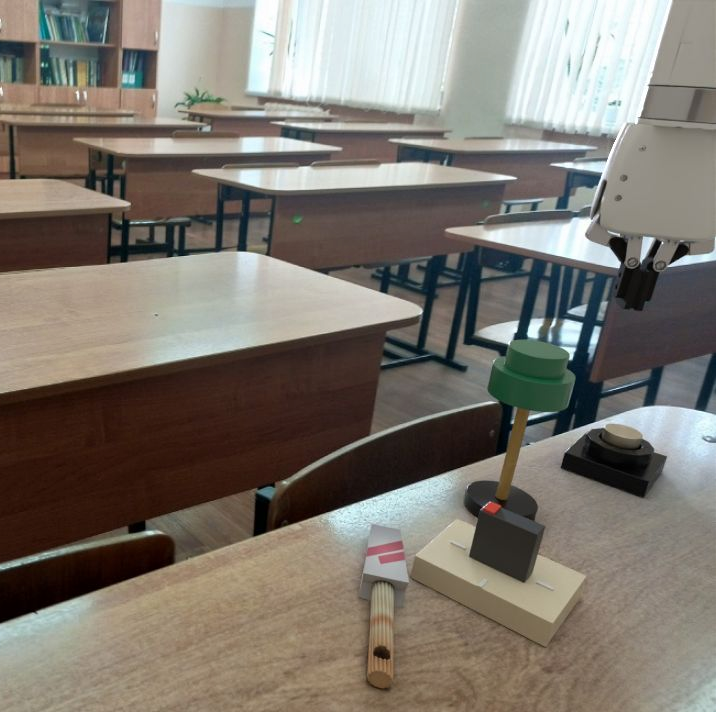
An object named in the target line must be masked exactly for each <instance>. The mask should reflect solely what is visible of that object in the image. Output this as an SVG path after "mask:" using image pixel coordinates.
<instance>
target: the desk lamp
mask: <svg viewBox="0 0 716 712" xmlns="http://www.w3.org/2000/svg"><path fill="white" fill-rule="evenodd" d="M570 356H571V355H570V352H569V351H568V350H566V349H565V348H562V347H560V346H558V345H556V344H552V343H549V342H544V341H541V340H534V339H515V340H514V339H513V340H511V341H509V342H508V344H507V348H506V352H505V355H503V356H500V357H496V358H494V360H493V362H492V366H491V370H490V375H489V379H488V384H487V387H486V388H487V393H488V394H489V395H490V396H492V397H493V398H494V399H496V400H497V401H499V402H502V403H503V404H506V405H508V406H511V407H515V408H516V412H515V416H514V419H513V424H512V427H511V432H510V436H509V440H508V443H507V444H508V445H507V448H506V451H505V457H504V459H503V460H504V461H503V465H502V468H501V472H500V477H499V480H498V481H496V480H487V479H486V480H484V479H483V480H476V481H473V482H470V483H469V484H468V485H467V486H466V488H465V493H464V497H463V504H464V506H465V508H466V510H467V511H468V512H469V513H470V514H472V515H473V516H475V518H478V516H479V512H480V510H481V509H482V508H483V507H484V506H485V505H486V504H488V503H489V502H493V503H496V504H498V505H501V508H503V509H506V510H508V511H510V512H513V513H515V514H518V515H520V516H522V517H525V518H527V519H530V520H532V521H534V522H535V520H536V516H537V513H538V509H539V505H538V503H537V501H536V499H535V498H534V497H533V496H532V495H531V494H529V493H528V492H527V491H525V490H524V489H522V488H519V487H517V486H515V485H512V483H513V479H514V475H515V471H516V467H517V463H518V460H519V455H520V452H521V449H522V443H523V440H524V436H525V432H526V428H527V425H528V420H529V417H530V412H531V411H532V412H539V413H558V412H562V411H565V410H566V409H567V408H568V407H569V404H570V400H571V397H572V394H573V390H574V386H575V382H576V380H577V379H576V375H575V374H574V373H573V372H572V371H571V370H570V369H568V368H567V367H568V365H569V361H570V358H571V357H570Z"/></svg>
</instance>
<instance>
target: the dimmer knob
mask: <svg viewBox="0 0 716 712" xmlns="http://www.w3.org/2000/svg"><path fill="white" fill-rule="evenodd" d="M476 520H477V521H476V525H475V527H476V529H475V533H474V537H473V541H472V545H471V549H470V554H469V557H471V558H473V559H475V560H477V561H479V562H482V563H484V564H486V565H488V566H490V567H492V568H494V569H496V570H499V571H501V572H503V573H505V574H507V575H509V576H511V577H513V578H516V579H518V580H520V581H522V582H525V581H526V580H527V579H528V578H529V577H530V575H531V574H532V573H533V569H534V566H535V562H536V559H537V555H539V551H540V548H541V544H542V540H543V537H544V534H545V530H546V525H544V524H541V523H539V522H536V521H535V520H534V521H532V520H530V519H527V518H525V517H522V516H520V515H518V514H515V513H513V512H510V511H508V510H506V509H503V508H501V505H498V504H496V503H493V502H489V503H488V504H486V505H485V506H484V507H483V508H482V509H481V510H480V512H479V516H478V517H477V519H476Z"/></svg>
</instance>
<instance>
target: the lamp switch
mask: <svg viewBox="0 0 716 712" xmlns="http://www.w3.org/2000/svg"><path fill="white" fill-rule="evenodd" d="M603 429H604V427H597V428H591V429H590V430H586V431H585V432H584V433H583V434H582V435H580V437H579V438H578V439H577V440H576V441H575V442H574V443H573V444H572V445H570V446H569V448H568V449H567V450H565V452H564V453H563V457H562V461H561V464H560V469H563V470H566V471H568V472H570V473H574V474H576V475H579V476H582V477H584V478H587V479H590V480H593V481H596V482H598V483H601V484H604V485H606V486H609V487H612V488H615V489H618V490H620V491H623V492H625V493H629V494H632V495H634V496H637V497H640V498H643V499H644V498H645V497H646V495H647V494H648V493H649V491H650V490H651V488H652V487H653V485H654V484H655V483H656V481H657V480H658V479H659V477H660V476H661V474H662V473H663V471H664V467H665V465H666V463H667V460H668V456H667V455H664V454H661V453H658V452H655V447H653V446H652V444H651V442H649V441H648V440H646V439H644V438H642V440H641V443H640V446H639V449H638V450H625V449H620V448H617V447H614V446H610V445H608V444H607V443H605V442H603V441H601V436H602V433H603Z"/></svg>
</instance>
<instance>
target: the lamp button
mask: <svg viewBox="0 0 716 712" xmlns="http://www.w3.org/2000/svg"><path fill="white" fill-rule="evenodd" d="M603 428H604V429H603V433H602V436H601V441H603V442H605V443H607V444H608V445H610V446H614V447H617V448H620V449H625V450H638V449H639V446H640V443H641V440H642V439H643V433H642V432H641V431H640V430H638V429H636V428H634V427H631V426H629V425H625V424H620V423H607V424H605V425H604V426H603Z"/></svg>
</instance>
